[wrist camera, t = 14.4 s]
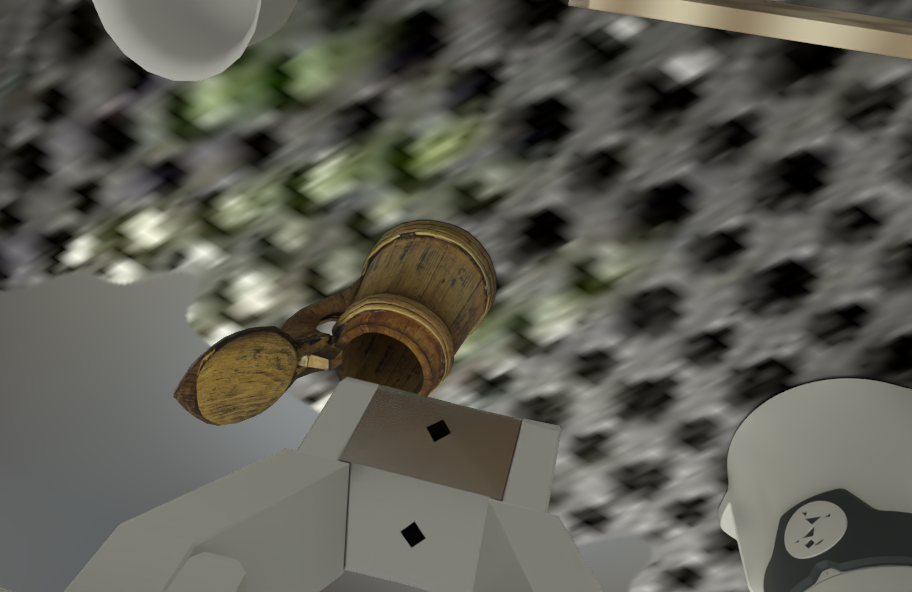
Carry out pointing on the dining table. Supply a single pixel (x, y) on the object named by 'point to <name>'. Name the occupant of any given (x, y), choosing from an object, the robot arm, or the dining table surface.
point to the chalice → (190, 32)
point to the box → (775, 21)
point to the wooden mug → (357, 328)
